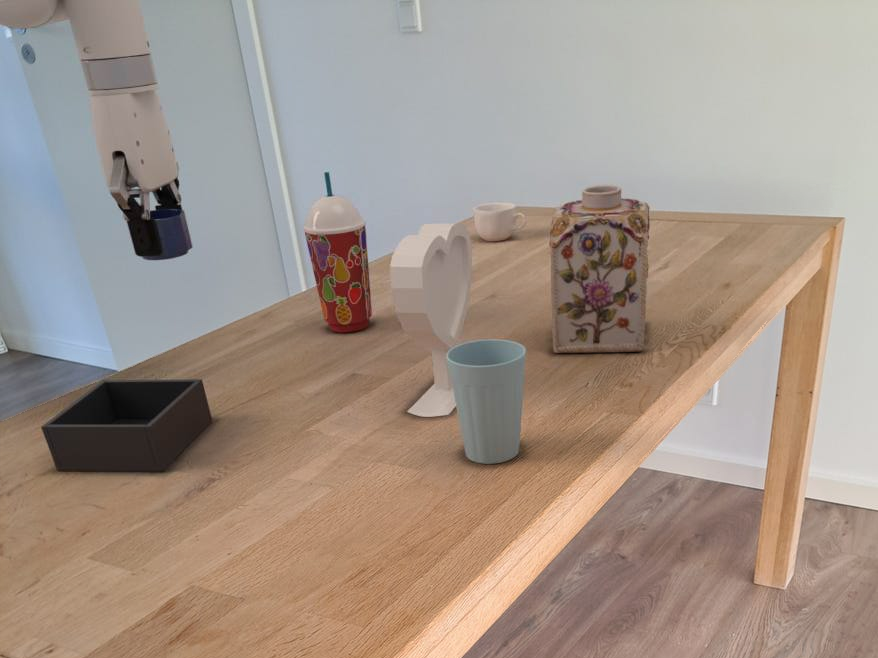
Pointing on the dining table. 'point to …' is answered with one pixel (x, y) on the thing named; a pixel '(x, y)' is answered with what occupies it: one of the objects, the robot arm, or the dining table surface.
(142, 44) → the robot arm
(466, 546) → the dining table surface
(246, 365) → the dining table surface
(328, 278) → the smoothie
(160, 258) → the cylindrical container
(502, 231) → the teacup
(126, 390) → the dish tub
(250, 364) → the dining table surface
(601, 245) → the decorative jar
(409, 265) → the heart sculpture
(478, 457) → the cup
